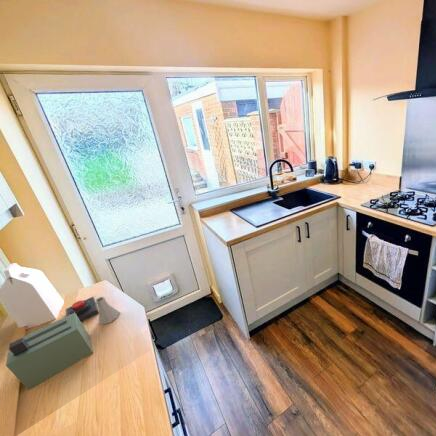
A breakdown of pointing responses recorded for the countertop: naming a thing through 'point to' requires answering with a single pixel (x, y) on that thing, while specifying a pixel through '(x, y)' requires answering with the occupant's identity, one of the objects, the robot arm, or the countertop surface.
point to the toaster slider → (18, 346)
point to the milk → (29, 296)
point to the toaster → (50, 351)
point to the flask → (106, 311)
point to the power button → (78, 305)
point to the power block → (85, 310)
